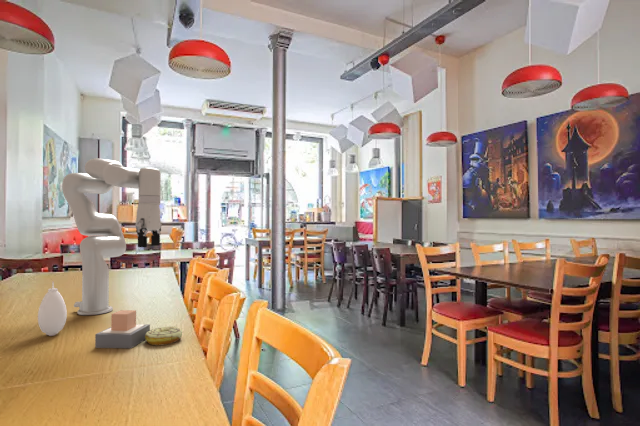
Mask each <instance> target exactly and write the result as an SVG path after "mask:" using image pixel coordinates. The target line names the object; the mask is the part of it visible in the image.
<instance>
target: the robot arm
mask: <svg viewBox="0 0 640 426" xmlns="http://www.w3.org/2000/svg"><path fill="white" fill-rule="evenodd" d="M84 171H85V172H83V173H82V172H72V173H68V174H66V175H65V176H64V178H63V180H62V186H61V187H62V193H63V196H64V198H65V200H66V202H67V204H68V205H69V207H70V209H71V213H72V215H73V218H74V221H75V225H76V228H77V231H78V232H79V234H80V235H83V236H87V237H85V238H83V239H82V240H81V241H80V243H79V252H80V257H81V264H82V265H81V266H82V267H81V268H82V269H81V270H82V274H81V275H82V278H81V279H82V281H81V283H82V284H81V285H82V288H81V289H82V290H81V300H82V301H75V303H74V304H73V307H74V308H79V309H77V314H78V315H79V316H96V315H97V316H98V315H102V314H103V315H104V314H106V313H110V312H112V311H113V309H114V308H113V306H111V305H109V303H110V302H109V301H110V297H109V296H110V295H109V292H110V290H109V289H110V287H109V285H110V284H109V283H110V268H109V265H108V263H107V262H106V261H105V259H106V258H116V257H121V256H122V255H123V256H124V254H125V253H126V250H127V244H126V239H125V237H124V232H123V230H122V228H121V225H120V223H119V220H118V218H117V217H116V216H115V215H113V214H111V213H99V212H98V211H97V209H96V207H95V204H94V202H93V201H92V200H91V198H89V197H88V196H87V195H86V194H95V195H97V194H98V195H104V194H106V193H108V192H109V191H110V190H111V189H112V188H113V187H119V188H128V189H129V188H130V189H138V205H137V210H136V219H135V224H134V225H135V231H136V236H137V248H147V247H148V235H147V234H148V233H149V232H151V234H152V235H150V237H151V239H150V241H151V242H150V245H151V246H161V234H162V233H161V231H162V225H163V224H162V222H161V208H160V206H161V178H162V177H161V176H162V175H161V170H160V169H158V168H156V167H155V168H154V167H142V168H140V169H139V168H134V167H133V168H132V167H125V166H124V165H123V164H122V163H121V162H119V161H117V160H112V159H106V158H105V159H104V158H100V157H99V158H91V159H89V160H87V162H85V165H84Z"/></svg>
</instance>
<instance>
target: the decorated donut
mask: <svg viewBox="0 0 640 426" xmlns="http://www.w3.org/2000/svg"><path fill="white" fill-rule="evenodd" d="M182 337H183V331H182V329H181V328H179V327H177V326H161V327H156V328H153V329H150V331H148V332H147V333H146V335H145V341H146V342H147V343H148V345H151V346H162V345H163V346H164V345H169V344H170V345H171V344H173V343H176V342H177V341H179V340H180V339H181V338H182Z"/></svg>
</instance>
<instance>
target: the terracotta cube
mask: <svg viewBox="0 0 640 426" xmlns="http://www.w3.org/2000/svg"><path fill="white" fill-rule="evenodd" d="M110 323H111V324H110V325H111V326H110V327H111V330H112V331H128V330H130V329H131V328H133V327H135V326H136V324H137V310H135V309H134V310H133V309H132V310H129V309H124V310H123V309H121V310H118V311H115V312H112V313H111V322H110Z"/></svg>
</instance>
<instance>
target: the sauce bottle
mask: <svg viewBox="0 0 640 426" xmlns="http://www.w3.org/2000/svg"><path fill="white" fill-rule="evenodd" d="M37 311H38V312H37V323H38V326H39V328H40V330H41V332H42V333H44V334H45V335H46V336H50V337H52V336H56V335H57V334H58V333H60V331H62V330H63V329H64V327H65V324H66V322H67V317H68V314H67V313H68V311H67V306H66V303H65V300H64V297H63V296H62V293H60V291H59V290H58V288H56V287H55V284H54V281H52V283H51V288H48V289H47V292H46V293H45V295H44V296H43V298H42V300H41V302H40V304H39V308H38V310H37Z"/></svg>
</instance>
